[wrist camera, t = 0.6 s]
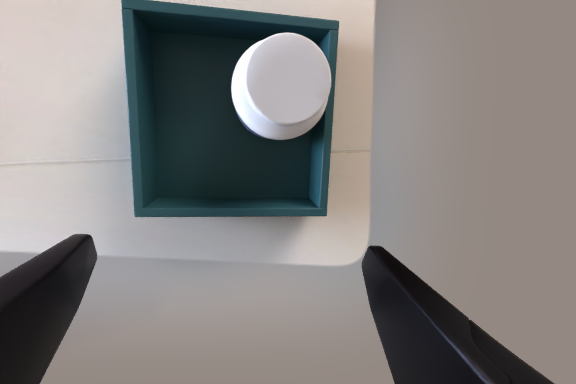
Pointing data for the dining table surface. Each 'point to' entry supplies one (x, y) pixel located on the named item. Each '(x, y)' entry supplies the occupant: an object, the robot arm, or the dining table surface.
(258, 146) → the bin
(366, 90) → the dining table surface
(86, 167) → the dining table surface
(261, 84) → the pill bottle
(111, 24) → the dining table surface
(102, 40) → the dining table surface
